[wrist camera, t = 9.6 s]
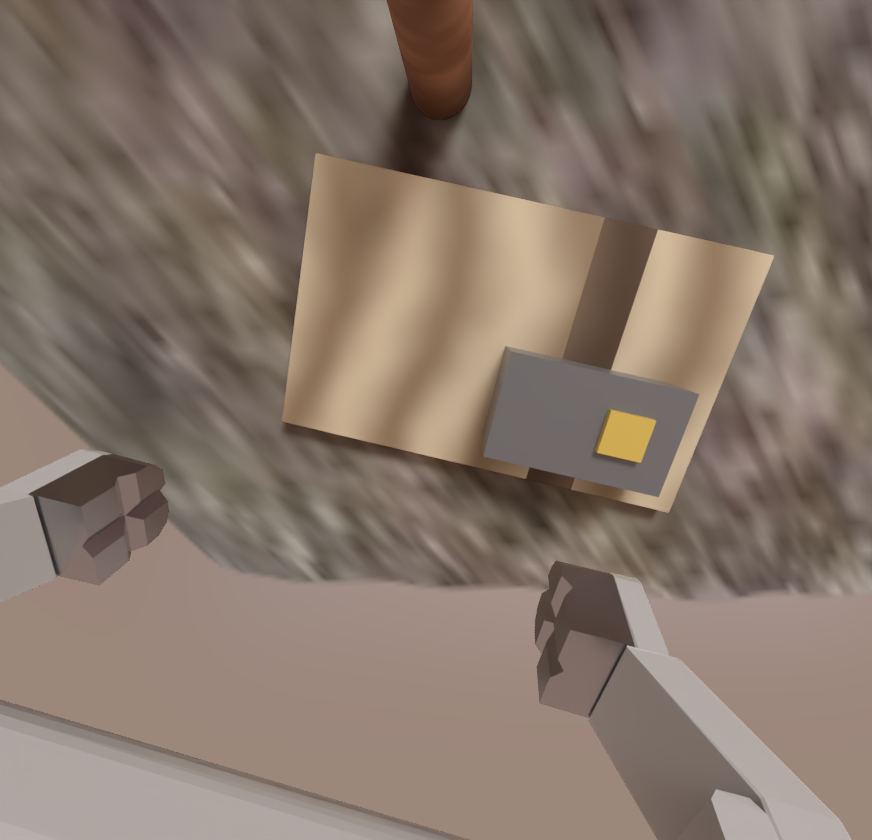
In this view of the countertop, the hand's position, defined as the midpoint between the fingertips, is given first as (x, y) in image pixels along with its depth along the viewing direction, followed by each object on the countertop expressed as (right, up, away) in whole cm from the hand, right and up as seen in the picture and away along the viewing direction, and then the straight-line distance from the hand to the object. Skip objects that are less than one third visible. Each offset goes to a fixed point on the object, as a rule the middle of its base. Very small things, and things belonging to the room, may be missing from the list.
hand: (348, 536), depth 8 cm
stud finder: (+10, +3, +17) cm, 20 cm away
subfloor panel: (+6, +7, +18) cm, 20 cm away
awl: (+2, +21, +15) cm, 26 cm away
